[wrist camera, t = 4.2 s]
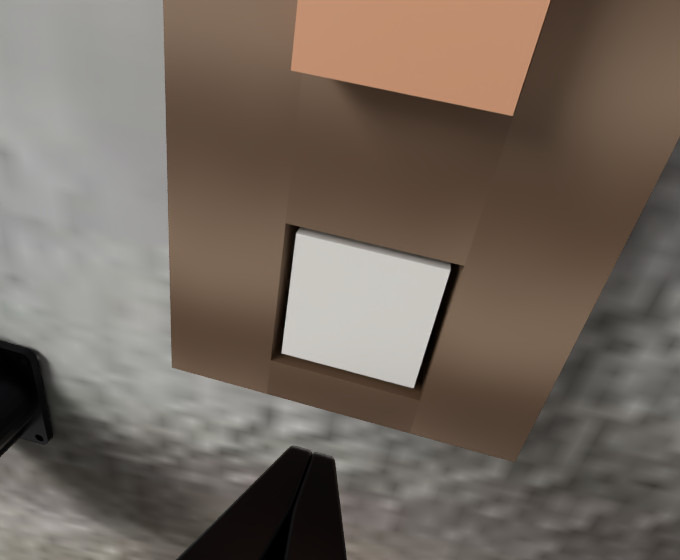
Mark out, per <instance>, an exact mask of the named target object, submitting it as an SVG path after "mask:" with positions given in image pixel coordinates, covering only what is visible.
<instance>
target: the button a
mask: <svg viewBox="0 0 680 560" xmlns="http://www.w3.org/2000/svg"><path fill="white" fill-rule="evenodd" d="M450 270H451V263H450V262H446V261H442V260H438V259H434V258H429V257H425V256H421V255H417V254H413V253H408V252H404V251H400V250H396V249H392V248H387V247H383V246H379V245H375V244H371V243H366V242H362V241H358V240H354V239H350V238H346V237H341V236H337V235H333V234H329V233H325V232H320V231H316V230H312V229H308V228H304V227H300V229H299V230H298V231H297V233H296V239H295V247H294V255H293V263H292V271H291V279H290V288H289V296H288V304H287V312H286V320H285V328H284V337H283V345H282V354H286V355H290V356H294V357H297V358H301V359H305V360H309V361H312V362H316V363H320V364H324V365H327V366H331V367H335V368H339V369H342V370H346V371H350V372H354V373H357V374H361V375H365V376H369V377H372V378H376V379H380V380H384V381H387V382H391V383H395V384H399V385H402V386H406V387H410V388H414V385H415V382H416V379H417V376H418V373H419V369H420V366H421V363H422V360H423V357H424V353H425V350H426V347H427V344H428V341H429V338H430V334H431V331H432V328H433V325H434V322H435V318H436V315H437V312H438V309H439V306H440V302H441V299H442V296H443V293H444V290H445V286H446V283H447V280H448V277H449V274H450Z"/></svg>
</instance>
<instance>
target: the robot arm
mask: <svg viewBox="0 0 680 560" xmlns="http://www.w3.org/2000/svg"><path fill="white" fill-rule="evenodd" d="M52 437H53V433H52V428H51V423H50V419H49V414H48V409H47V404H46V399H45V394H44V389H43V384H42V379H41V375H40V370H39V365H38V360H37V357H36V355H35V354H34V352H32V351H31V350H30V349H27V348H24V347H21V346H17V345H14V344H10V343H6V342H3V341H0V457H1V456H2V455H3V454H4V453H5V452H6V451H7V450H8V449H9V448H10V447H11V446H12V445H13V444H14V443H15V442H16V441H17V440H18V439H19V438H22V439H25V440H29V441H32V442H35V443H39V444H43V445H45V444H47V443H48V442H49V441H50V440H51V438H52ZM176 560H347V557H346V548H345V540H344V532H343V524H342V515H341V507H340V499H339V491H338V482H337V474H336V466H335V460H334V458H333V457H332V456H329V455H325V454H322V453H318V452H315V453H313V454H312V452H311V451H310V450H308V449H305V448H301V447H298V446H291V447H290V448H288V449H287V450H286V451H285V452H284V453H283V454H282V455H281V456H280V457H279V458H278V459H277V460H276V461H275V462H274V463H273V464H272V465H271V466H270V467H269V468H268V469H267V470H266V471H265V472H264V473H263V474H262V475H261V476H260V477H259V478H258V479H257V480H256V481H255V482H254V483H253V484H252V485H251V486H250V487H249V488H248V489H247V490H246V491H245V492H244V493H243V494H242V495H241V496H240V497H239V498H238V499H237V500H236V501H235V502H234V503H233V504H232V505H231V506H230V507H229V508H228V509H227V510H226V511H225V512H224V513H223V514H222V515H221V516H220V517H219V518H218V519H217V520H216V521H215V522H214V523H213V524H212V525H211V526H210V527H209V528H208V529H207V530H206V531H205V532H204V533H203V534H202V535H201V536H200V537H199V538H198V539H197V540H196V541H195V542H194V543H193V544H192V545H191V546H190V547H189V548H188V549H187V550H186V551H185V552H184V553H183V554H182V555H181V556H179V557H178V558H177V559H176Z"/></svg>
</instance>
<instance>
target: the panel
mask: <svg viewBox="0 0 680 560" xmlns="http://www.w3.org/2000/svg"><path fill="white" fill-rule="evenodd" d="M297 2H298V0H163V11H164V53H165V95H166V137H167V179H168V221H169V262H170V304H171V346H172V368H176V369H179V370H183V371H186V372H190V373H194V374H197V375H201V376H205V377H208V378H212V379H215V380H219V381H223V382H226V383H230V384H234V385H237V386H241V387H244V388H248V389H252V390H255V391H259V392H262V393H266V394H270V395H273V396H277V397H281V398H284V399H288V400H291V401H295V402H299V403H302V404H306V405H310V406H313V407H317V408H320V409H324V410H328V411H331V412H335V413H338V414H342V415H346V416H349V417H353V418H357V419H360V420H364V421H367V422H371V423H375V424H378V425H382V426H386V427H389V428H393V429H396V430H400V431H404V432H407V433H411V434H414V435H418V436H422V437H425V438H429V439H433V440H436V441H440V442H443V443H447V444H451V445H454V446H458V447H462V448H465V449H469V450H472V451H476V452H480V453H483V454H487V455H491V456H494V457H498V458H501V459H505V460H509V461H512V462H515V461H516V459H517V457H518V455H519V453H520V451H521V449H522V447H523V445H524V443H525V441H526V439H527V437H528V435H529V433H530V431H531V429H532V427H533V425H534V423H535V421H536V419H537V417H538V416H539V414H540V412H541V410H542V408H543V406H544V404H545V402H546V400H547V398H548V396H549V394H550V392H551V390H552V388H553V386H554V384H555V382H556V380H557V378H558V376H559V374H560V372H561V370H562V368H563V366H564V364H565V362H566V360H567V358H568V356H569V354H570V352H571V350H572V348H573V346H574V345H575V343H576V341H577V339H578V337H579V335H580V333H581V331H582V329H583V327H584V325H585V323H586V321H587V319H588V317H589V315H590V313H591V311H592V309H593V307H594V305H595V303H596V301H597V299H598V297H599V295H600V293H601V291H602V289H603V287H604V285H605V283H606V281H607V279H608V277H609V275H610V274H611V272H612V270H613V268H614V266H615V264H616V262H617V260H618V258H619V256H620V254H621V252H622V250H623V248H624V246H625V244H626V242H627V240H628V238H629V236H630V234H631V232H632V230H633V228H634V226H635V224H636V222H637V220H638V218H639V216H640V214H641V212H642V210H643V208H644V206H645V204H646V203H647V201H648V199H649V197H650V195H651V193H652V191H653V189H654V187H655V185H656V183H657V181H658V179H659V177H660V175H661V173H662V171H663V169H664V167H665V165H666V163H667V161H668V159H669V157H670V155H671V153H672V151H673V149H674V147H675V145H676V143H677V141H678V139H679V137H680V0H550V3H549V6H548V9H547V12H546V16H545V19H544V22H543V25H542V28H541V31H540V34H539V37H538V40H537V43H536V46H535V49H534V52H533V55H532V58H531V61H530V64H529V68H528V71H527V74H526V77H525V80H524V83H523V86H522V89H521V92H520V95H519V98H518V101H517V104H516V107H515V110H514V113H513V116H510V115H505V114H500V113H495V112H490V111H486V110H481V109H476V108H471V107H466V106H461V105H456V104H452V103H447V102H442V101H437V100H432V99H427V98H422V97H418V96H413V95H408V94H403V93H398V92H393V91H388V90H384V89H379V88H374V87H369V86H364V85H359V84H354V83H350V82H345V81H340V80H335V79H330V78H325V77H320V76H316V75H311V74H306V73H301V72H296V71H291V63H292V53H293V43H294V32H295V22H296V12H297ZM300 227H304V228H308V229H312V230H316V231H320V232H325V233H329V234H333V235H337V236H341V237H346V238H350V239H354V240H358V241H362V242H366V243H371V244H375V245H379V246H383V247H387V248H392V249H396V250H400V251H404V252H408V253H413V254H417V255H421V256H425V257H429V258H434V259H438V260H442V261H446V262H450V263H451V270H450V274H449V277H448V280H447V283H446V286H445V290H444V293H443V296H442V299H441V302H440V306H439V309H438V312H437V315H436V318H435V322H434V325H433V328H432V331H431V334H430V338H429V341H428V344H427V347H426V350H425V353H424V357H423V360H422V363H421V366H420V369H419V373H418V376H417V379H416V382H415V385H414V388H410V387H406V386H402V385H399V384H395V383H391V382H387V381H384V380H380V379H376V378H372V377H369V376H365V375H361V374H357V373H354V372H350V371H346V370H342V369H339V368H335V367H331V366H327V365H324V364H320V363H316V362H312V361H309V360H305V359H301V358H297V357H294V356H290V355H286V354H282V345H283V337H284V328H285V320H286V312H287V304H288V296H289V288H290V279H291V271H292V263H293V255H294V247H295V239H296V233H297V231H298V230H299V229H300Z"/></svg>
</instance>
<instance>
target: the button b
mask: <svg viewBox="0 0 680 560" xmlns="http://www.w3.org/2000/svg"><path fill="white" fill-rule="evenodd" d="M549 3H550V0H298V2H297V12H296V22H295V32H294V43H293V53H292V63H291V71H296V72H301V73H306V74H311V75H316V76H320V77H325V78H330V79H335V80H340V81H345V82H350V83H354V84H359V85H364V86H369V87H374V88H379V89H384V90H388V91H393V92H398V93H403V94H408V95H413V96H418V97H422V98H427V99H432V100H437V101H442V102H447V103H452V104H456V105H461V106H466V107H471V108H476V109H481V110H486V111H490V112H495V113H500V114H505V115H510V116H513V113H514V110H515V107H516V104H517V101H518V98H519V95H520V92H521V89H522V86H523V83H524V80H525V77H526V74H527V71H528V68H529V64H530V61H531V58H532V55H533V52H534V49H535V46H536V43H537V40H538V37H539V34H540V31H541V28H542V25H543V22H544V19H545V16H546V12H547V9H548V6H549Z"/></svg>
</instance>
